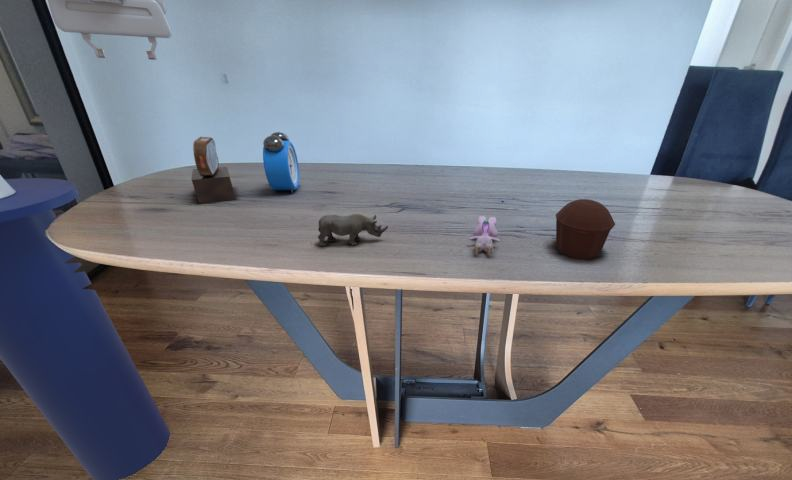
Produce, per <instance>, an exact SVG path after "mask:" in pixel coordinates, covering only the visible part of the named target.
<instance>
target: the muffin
mask: <svg viewBox="0 0 792 480" xmlns="http://www.w3.org/2000/svg"><path fill="white" fill-rule="evenodd" d="M555 219H556V221H555V237H556V238H555V248H556V249H557V250H558V251H559V253H560V254H562V255H565V256H568V257H570V258H572V259H581V260H591V259H596V258H600V255H601V253H602V251H603V248H604V246H605V243H606V241H607V240H608V237H609V235H610V232H611V230H612V229H613V228H614V227H615V226H616V222H615V221H614V218H613V217H612V214H611V213H610V211H609V209H608V208H607V207H606V206H605V205H603V203H601V202H599V201H596V200H593V199H587V198H585V199H584V198H583V199H582V198H578V199H574V200H572V201H570V202H568V203H567V204H565V205H564V206H563V207H562V208H560V209H559V211H558V212H557V213H556V214H555Z"/></svg>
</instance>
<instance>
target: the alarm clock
mask: <svg viewBox="0 0 792 480" xmlns="http://www.w3.org/2000/svg"><path fill="white" fill-rule="evenodd" d="M262 144H263V147H262V162H263V168H264V173H265V178H266V180H267V182H268V185H269V186H270V188H271V189H272V190H274V191H291V194H293V193H294V191H296V190H297V189H299V185H300V167H299V161H298V155H297V152H296V149H295V146H294V144H293V142H291V141H290V137H289V136H288V135H287V134H285V133H284V132H280V131H276V132H273V133H271V134H270V135H267V136H266V137H265V138H264V140H263V142H262Z"/></svg>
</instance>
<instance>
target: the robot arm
mask: <svg viewBox="0 0 792 480" xmlns="http://www.w3.org/2000/svg"><path fill="white" fill-rule="evenodd" d="M47 3H48V7H49V10H50V13H51V16H52V19H53V22H54V25H55V26H56V27H57V28H58V29H59V30H60V31H62V32H64V33H71V34H72V33H74V34H80V35H81V37H82V40H84V41H85V43H87V45H88V46H90V47H91V49H93V51H94V53H95V57H96V58H99V59H107V54H105V53H106V52H105V50H104V48H99V47H98V46H97V45H96V44H95V43H94V42H93V41H92V40H94V38H93V35H105V36H106V35H107V36H124V37H136V38H137V37H138V38H147V40H148V42H149V43H150V44H151V47H150V50H146V54H147V59H148V60H150V61H151V60H152V61H157V60H158V59H157V55H156V50H157V47H158V41H157V39H171V38H172V36H173V32H172V29H171V27H170V24H169V21H168V19H167V17H166V13H167V6H166V3H165V0H47ZM4 179H5V178H4V177H3V176H2V175H1V174H0V199H1V198H4V197H7V196H10V195H12V194H14V193H15V192H16V190H14V189H13V188H12V187H11V186H10V185H9V184H8V183H7V182H6V181H5V180H4Z"/></svg>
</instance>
